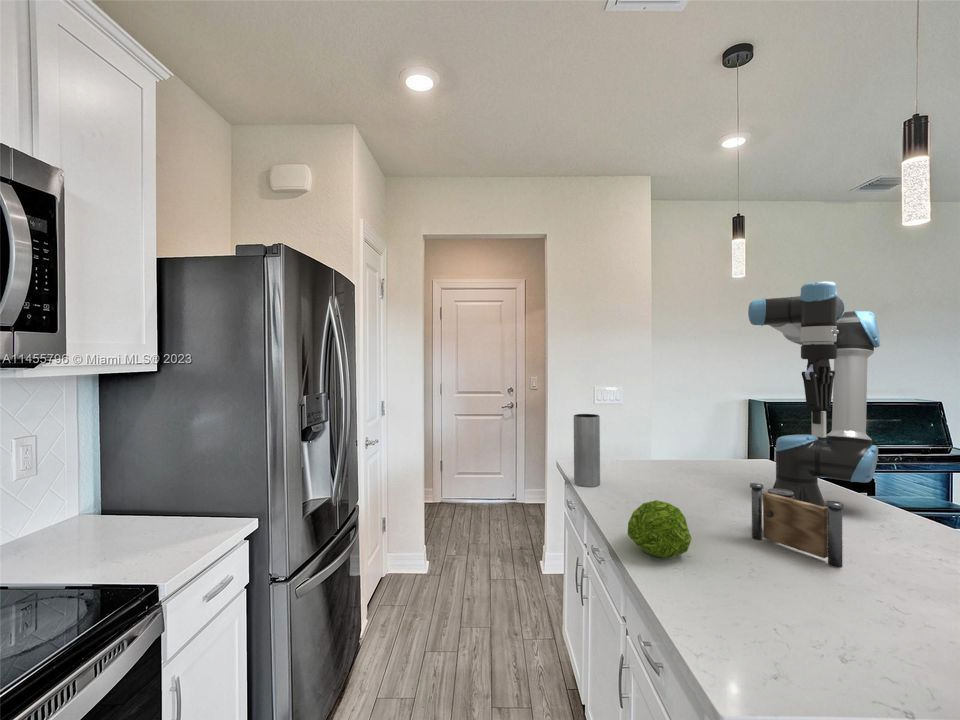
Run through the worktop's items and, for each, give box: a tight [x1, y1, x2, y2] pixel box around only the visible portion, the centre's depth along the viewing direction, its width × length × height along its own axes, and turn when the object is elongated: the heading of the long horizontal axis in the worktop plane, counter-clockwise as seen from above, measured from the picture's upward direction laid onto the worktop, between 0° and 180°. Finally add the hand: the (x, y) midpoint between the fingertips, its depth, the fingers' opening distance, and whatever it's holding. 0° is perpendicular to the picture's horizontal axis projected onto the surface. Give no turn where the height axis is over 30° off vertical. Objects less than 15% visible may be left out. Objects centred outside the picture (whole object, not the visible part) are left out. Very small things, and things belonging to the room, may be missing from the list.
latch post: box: [749, 482, 764, 541], centre depth 132 cm, size 3×3×15 cm
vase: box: [573, 413, 601, 488], centre depth 190 cm, size 10×10×27 cm
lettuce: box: [627, 499, 692, 559], centre depth 127 cm, size 15×24×14 cm, turn 156°
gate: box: [762, 492, 828, 559], centre depth 123 cm, size 15×3×12 cm, turn 27°
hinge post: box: [825, 500, 845, 568], centre depth 115 cm, size 4×4×15 cm
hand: (818, 436), depth 122 cm, fingers closed
